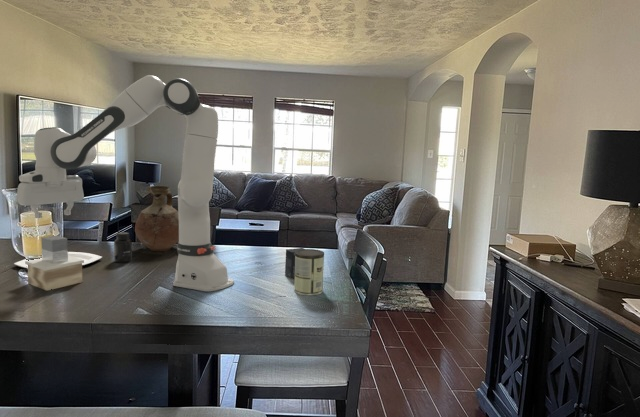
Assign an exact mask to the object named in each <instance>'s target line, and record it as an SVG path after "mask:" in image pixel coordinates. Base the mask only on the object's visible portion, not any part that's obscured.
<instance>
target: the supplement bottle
mask: <svg viewBox="0 0 640 417" xmlns="http://www.w3.org/2000/svg"><path fill="white" fill-rule="evenodd" d="M132 243H133V241H132V240H131V239H130V232H125V231H124V232H122V231H121V232H117V233H116V239H115V240H114V242H113V261H114V263H117V262H118V264H119V263H120V264H124V263H125V262H126V263H130V262H131V261H132V260H133V254H132V253H133V244H132ZM126 263H125V264H126Z"/></svg>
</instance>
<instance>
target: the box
mask: <svg viewBox="0 0 640 417" xmlns="http://www.w3.org/2000/svg"><path fill="white" fill-rule="evenodd" d="M301 249H305V248H304V247H299V248H289V249H288V248H287V249H285V262H284V263H285V267H284V269H285V270H284V275H285V276H287V278H290V279H295V251H297V250H301Z"/></svg>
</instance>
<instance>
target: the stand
mask: <svg viewBox="0 0 640 417" xmlns="http://www.w3.org/2000/svg"><path fill="white" fill-rule="evenodd" d="M82 263H84V260H82V259H78V258H75V257H72V256H68V261H65V262H59V263H54V264H52V263H49V262H46V261H43V260H42V258H40V259H34V260H29V261H25V264H27V265H28V269H27V280H28V281H27V282H28V284H29V285H31V286H33V287H36V288H39V289H42V290H44V291H51V289H52V290H54V289H55V290H56V289H59V288H63V287H68V286H72V285H76V284H80V283H83V266H82Z"/></svg>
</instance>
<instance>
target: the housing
mask: <svg viewBox="0 0 640 417" xmlns="http://www.w3.org/2000/svg"><path fill="white" fill-rule="evenodd" d="M40 239H41V240H40V241H41V255H42V260H43V261H46V262H49V263H52V264H54V263H59V262H65V261H68V252H69V251H68V250H69V249H68V238H67V237H64V236H59V235H52V236H45V237H44V236H43V237H41V238H40Z"/></svg>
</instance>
